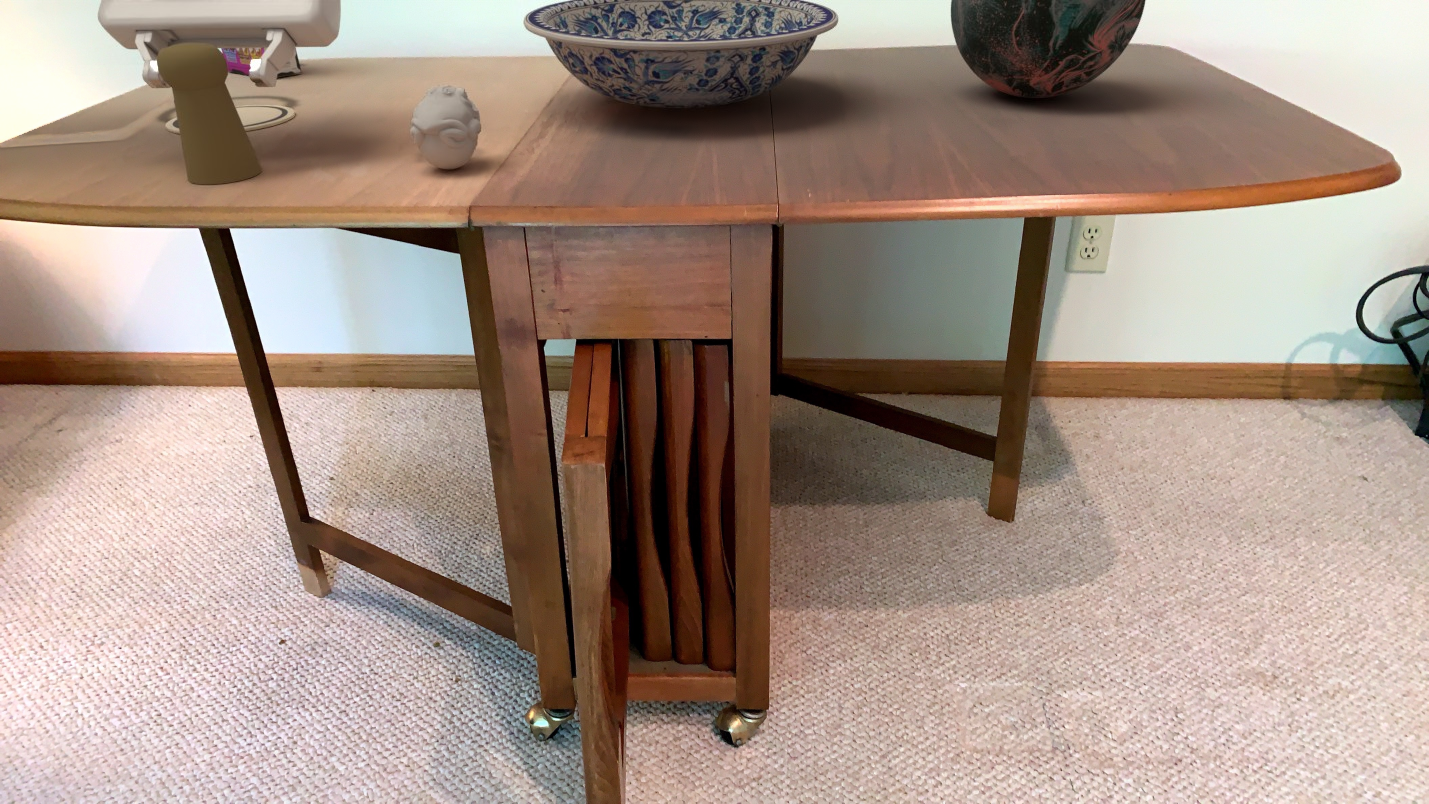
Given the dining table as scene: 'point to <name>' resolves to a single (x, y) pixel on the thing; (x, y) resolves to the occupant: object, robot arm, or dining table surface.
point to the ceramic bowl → (681, 46)
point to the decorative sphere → (1042, 41)
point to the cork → (207, 115)
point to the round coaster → (252, 117)
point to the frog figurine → (446, 127)
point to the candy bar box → (242, 57)
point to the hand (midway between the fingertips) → (208, 84)
